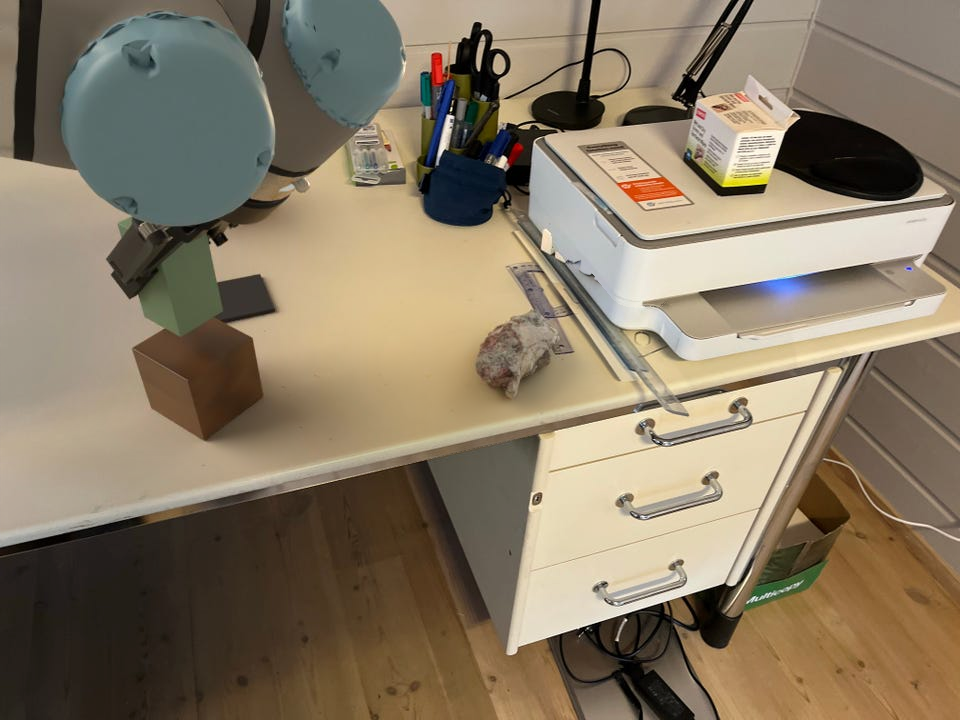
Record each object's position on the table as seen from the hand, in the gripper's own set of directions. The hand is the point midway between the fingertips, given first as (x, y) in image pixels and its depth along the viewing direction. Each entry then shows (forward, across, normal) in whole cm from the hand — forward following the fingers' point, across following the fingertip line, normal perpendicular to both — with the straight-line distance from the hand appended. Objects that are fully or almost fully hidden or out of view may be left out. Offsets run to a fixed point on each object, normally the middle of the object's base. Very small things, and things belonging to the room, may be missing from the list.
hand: (149, 271), depth 70 cm
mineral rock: (-8, +25, -29) cm, 39 cm away
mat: (+16, +13, -4) cm, 21 cm away
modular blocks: (-8, +49, -29) cm, 57 cm away
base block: (+8, 0, -13) cm, 15 cm away
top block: (0, 0, -5) cm, 5 cm away
